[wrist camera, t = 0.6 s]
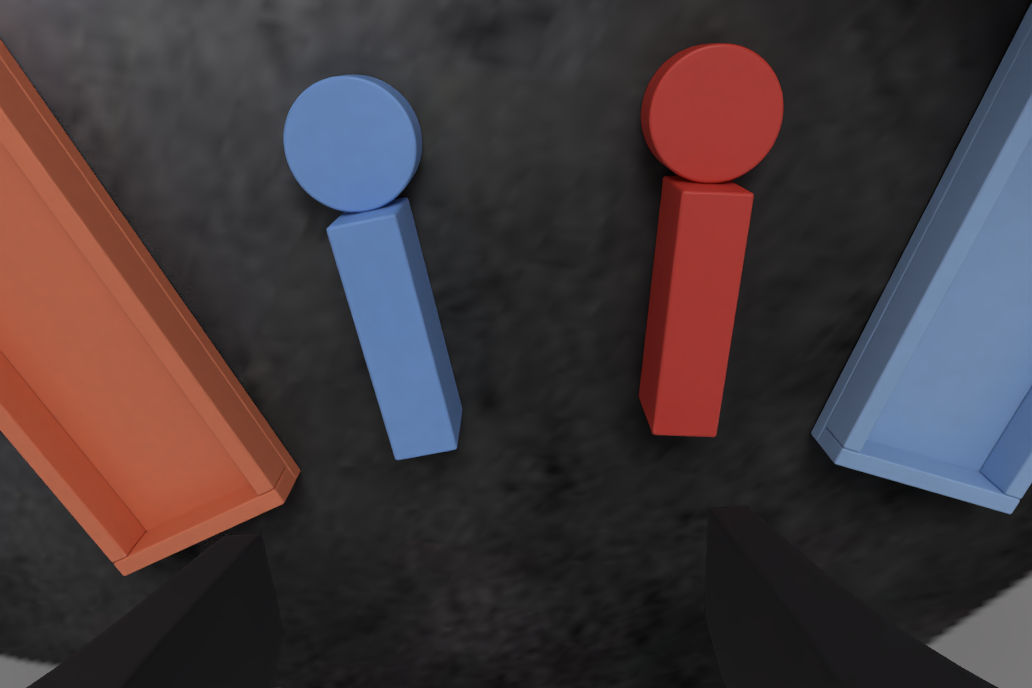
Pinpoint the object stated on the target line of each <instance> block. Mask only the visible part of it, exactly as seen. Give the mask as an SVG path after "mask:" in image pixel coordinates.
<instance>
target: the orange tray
mask: <svg viewBox="0 0 1032 688" xmlns="http://www.w3.org/2000/svg"><path fill="white" fill-rule="evenodd" d="M0 430H1V431H2V433H3V434H4V435H5V436H6V437H7V439H8V440H9V441H10V442H11V443H12V444H13V446H14V447H15V448H16V449H17V450H18V452H19V453H20V454H21V455H22V456H23V457H24V459H25V460H26V461H27V462H28V463H29V465H30V466H31V467H32V468H33V469H34V470H35V472H36V473H37V474H38V475H39V476H40V478H41V479H42V480H43V481H44V482H45V483H46V485H47V486H48V487H49V488H50V489H51V491H52V492H53V493H54V494H55V495H56V496H57V498H58V499H59V500H60V501H61V502H62V504H63V505H64V506H65V507H66V508H67V509H68V511H69V512H70V513H71V514H72V515H73V517H74V518H75V519H76V520H77V521H78V522H79V524H80V525H81V526H82V527H83V528H84V530H85V531H86V532H87V533H88V534H89V535H90V537H91V538H92V539H93V540H94V541H95V543H96V544H97V545H98V546H99V547H100V548H101V550H102V551H103V552H104V553H105V554H106V556H107V557H108V558H109V559H110V560H111V561H112V562H115V563H114V565H115V566H116V567H117V569H118V570H119V571H120V572H121V573H122V574H123V575H124V576H126V575H128V574H130V573H133V572H135V571H137V570H139V569H141V568H144V567H146V566H148V565H150V564H152V563H155V562H157V561H159V560H161V559H163V558H166V557H168V556H170V555H172V554H174V553H177V552H179V551H181V550H183V549H185V548H188V547H190V546H192V545H194V544H196V543H199V542H201V541H203V540H205V539H207V538H209V537H212V536H214V535H216V534H218V533H220V532H223V531H225V530H227V529H229V528H231V527H234V526H236V525H238V524H240V523H242V522H245V521H247V520H249V519H251V518H253V517H256V516H258V515H260V514H262V513H264V512H267V511H269V510H271V509H273V508H275V507H278V506H280V505H282V504H284V503H285V501H286V499H287V497H288V495H289V493H290V491H291V489H292V487H293V485H294V483H295V481H296V479H297V477H298V475H299V473H300V469H299V467H298V466H297V464H296V463H295V461H294V460H293V459H292V457H291V456H290V454H289V453H288V451H287V450H286V449H285V447H284V446H283V444H282V443H281V441H280V440H279V438H278V437H277V436H276V434H275V433H274V431H273V430H272V428H271V427H270V426H269V424H268V423H267V421H266V420H265V418H264V417H263V415H262V414H261V413H260V411H259V410H258V408H257V407H256V405H255V404H254V403H253V401H252V400H251V398H250V397H249V395H248V394H247V393H246V391H245V390H244V388H243V387H242V385H241V384H240V382H239V381H238V380H237V378H236V377H235V375H234V374H233V372H232V371H231V370H230V368H229V367H228V365H227V364H226V362H225V361H224V359H223V358H222V357H221V355H220V354H219V352H218V351H217V349H216V348H215V347H214V345H213V344H212V342H211V341H210V339H209V338H208V336H207V335H206V334H205V332H204V331H203V329H202V328H201V326H200V325H199V324H198V322H197V321H196V319H195V318H194V316H193V315H192V314H191V312H190V311H189V309H188V308H187V306H186V305H185V303H184V302H183V301H182V299H181V298H180V296H179V295H178V293H177V292H176V291H175V289H174V288H173V286H172V285H171V283H170V282H169V280H168V279H167V278H166V276H165V275H164V273H163V272H162V270H161V269H160V268H159V266H158V265H157V263H156V262H155V260H154V259H153V257H152V256H151V255H150V253H149V252H148V250H147V249H146V247H145V246H144V245H143V243H142V242H141V240H140V239H139V237H138V236H137V235H136V233H135V232H134V230H133V229H132V227H131V226H130V224H129V223H128V222H127V220H126V219H125V217H124V216H123V214H122V213H121V212H120V210H119V209H118V207H117V206H116V204H115V203H114V201H113V200H112V199H111V197H110V196H109V194H108V193H107V191H106V190H105V189H104V187H103V186H102V184H101V183H100V181H99V180H98V178H97V177H96V176H95V174H94V173H93V171H92V170H91V168H90V167H89V166H88V164H87V163H86V161H85V160H84V158H83V157H82V156H81V154H80V153H79V151H78V150H77V148H76V147H75V145H74V144H73V143H72V141H71V140H70V138H69V137H68V135H67V134H66V133H65V131H64V130H63V128H62V127H61V125H60V124H59V122H58V121H57V120H56V118H55V117H54V115H53V114H52V112H51V111H50V110H49V108H48V107H47V105H46V104H45V102H44V101H43V99H42V98H41V97H40V95H39V94H38V92H37V91H36V89H35V88H34V87H33V85H32V84H31V82H30V81H29V79H28V78H27V77H26V75H25V74H24V72H23V71H22V69H21V68H20V66H19V65H18V64H17V62H16V61H15V59H14V58H13V56H12V55H11V54H10V52H9V51H8V49H7V48H6V46H5V45H4V43H3V42H2V41H1V39H0Z"/></svg>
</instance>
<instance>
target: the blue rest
mask: <svg viewBox="0 0 1032 688" xmlns="http://www.w3.org/2000/svg"><path fill="white" fill-rule="evenodd" d="M811 434H812V436H813V437H814V438H815V440H816V441H817V442H818V443H819V445H820V446H821V447H822V448H823V450H824V451H825V452H826V453H827V455H828V456H829V457H830V459H831V460H832V461H833V462H834V463H835V464H837V465H840V466H844V467H847V468H851V469H854V470H858V471H861V472H865V473H868V474H872V475H875V476H879V477H882V478H886V479H889V480H893V481H896V482H899V483H903V484H906V485H910V486H913V487H917V488H920V489H924V490H927V491H931V492H934V493H938V494H941V495H945V496H948V497H952V498H955V499H959V500H962V501H966V502H969V503H973V504H976V505H980V506H983V507H987V508H990V509H994V510H997V511H1001V512H1004V513H1008V514H1011V513H1012V512H1013V511H1014V509H1015V508H1016V506H1017V504H1018V503H1019V501H1020V500H1019V499H1021V498H1022V497H1023V495H1024V494H1025V492H1026V491H1027V489H1028V488H1029V486H1030V484H1031V483H1032V3H1031V5H1030V7H1029V9H1028V11H1027V13H1026V15H1025V16H1024V18H1023V20H1022V22H1021V24H1020V26H1019V28H1018V30H1017V32H1016V34H1015V36H1014V38H1013V40H1012V42H1011V44H1010V46H1009V48H1008V50H1007V52H1006V53H1005V55H1004V57H1003V59H1002V61H1001V63H1000V65H999V67H998V69H997V71H996V73H995V75H994V77H993V79H992V81H991V83H990V85H989V87H988V89H987V91H986V92H985V94H984V96H983V98H982V100H981V102H980V104H979V106H978V108H977V110H976V112H975V114H974V116H973V118H972V120H971V122H970V124H969V126H968V128H967V130H966V131H965V133H964V135H963V137H962V139H961V141H960V143H959V145H958V147H957V149H956V151H955V153H954V155H953V157H952V159H951V161H950V163H949V165H948V167H947V169H946V170H945V172H944V174H943V176H942V178H941V180H940V182H939V184H938V186H937V188H936V190H935V192H934V194H933V196H932V198H931V200H930V202H929V204H928V206H927V208H926V209H925V211H924V213H923V215H922V217H921V219H920V221H919V223H918V225H917V227H916V229H915V231H914V233H913V235H912V237H911V239H910V241H909V243H908V245H907V247H906V248H905V250H904V252H903V254H902V256H901V258H900V260H899V262H898V264H897V266H896V268H895V270H894V272H893V274H892V276H891V278H890V280H889V282H888V284H887V286H886V287H885V289H884V291H883V293H882V295H881V297H880V299H879V301H878V303H877V305H876V307H875V309H874V311H873V313H872V315H871V317H870V319H869V321H868V323H867V324H866V326H865V328H864V330H863V332H862V334H861V336H860V338H859V340H858V342H857V344H856V346H855V348H854V350H853V352H852V354H851V356H850V358H849V360H848V362H847V363H846V365H845V367H844V369H843V371H842V373H841V375H840V377H839V379H838V381H837V383H836V385H835V387H834V389H833V391H832V393H831V395H830V397H829V399H828V401H827V402H826V404H825V406H824V408H823V410H822V412H821V414H820V416H819V418H818V420H817V422H816V424H815V426H814V428H813V430H812V432H811ZM1018 498H1019V499H1018Z"/></svg>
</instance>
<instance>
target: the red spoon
mask: <svg viewBox="0 0 1032 688" xmlns="http://www.w3.org/2000/svg"><path fill="white" fill-rule="evenodd" d="M783 110H784V108H783V95H782V90H781V87H780V83H779V81H778V79H777V76H776V74H775V73H774V71H773V70H772V68H771V67H770V65H769V64H768V63H767V62H766V61H765V60H764V59H763V58H762V57H761V56H759V55H758V54H757V53H755V52H753V51H752V50H750V49H747V48H745V47H743V46H739V45H735V44H728V43H715V44H702V45H696V46H693V47H690V48H687V49H685V50H682V51H680V52H678V53H677V54H675V55H674V56H672V57H671V58H670V59H668V60H667V61H666V62H665V63H664V64H663V65H662V66H661V67H660V68H659V69H658V70H657V72H656V73H655V74H654V76H653V77H652V79H651V81H650V82H649V84H648V87H647V89H646V91H645V94H644V98H643V101H642V108H641V125H642V131H643V135H644V138H645V141H646V143H647V145H648V147H649V149H650V150H651V152H652V153H653V155H654V156H655V157H656V158H657V159H658V160H659V161H660V162H661V163H662V164H663V165H665V166H666V167H667V168H668V169H670V170H671V171H673V172H674V173H675V174H677V175H679V176H664V178H663V185H662V194H661V202H660V211H659V220H658V229H657V238H656V247H655V256H654V265H653V274H652V282H651V291H650V300H649V309H648V318H647V327H646V336H645V345H644V354H643V362H642V371H641V380H640V389H639V399H640V401H641V404H642V407H643V409H644V412H645V415H646V417H647V420H648V423H649V426H650V428H651V431H652V434H654V435H670V436H698V437H715V436H716V434H717V427H718V421H719V415H720V408H721V402H722V396H723V389H724V383H725V377H726V370H727V364H728V357H729V351H730V345H731V338H732V332H733V326H734V319H735V313H736V307H737V300H738V294H739V287H740V281H741V275H742V268H743V262H744V256H745V249H746V243H747V237H748V230H749V224H750V218H751V211H752V205H753V198H754V195H753V193H751V192H749V191H748V190H746V189H744V188H742V187H741V186H739V185H737V184H735V183H734V182H732V181H730V180H733V179H735V178H737V177H740V176H742V175H743V174H745V173H747V172H748V171H750V170H751V169H752V168H754V167H755V166H756V165H757V164H758V163H759V162H760V161H762V159H763V158H764V157H765V156H766V155H767V153H768V152H769V151H770V149H771V148H772V146H773V144H774V142H775V140H776V138H777V136H778V133H779V131H780V128H781V123H782V119H783Z"/></svg>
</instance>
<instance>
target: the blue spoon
mask: <svg viewBox="0 0 1032 688" xmlns="http://www.w3.org/2000/svg"><path fill="white" fill-rule="evenodd" d="M283 143H284V151H285V155H286V159H287V162H288V165H289V168H290V170H291V172H292V174H293V175H294V177H295V179H296V180H297V182H298V183H299V184H300V186H301V187H302V188H303V189H304V190H305V191H306V192H307V193H308V194H309V195H310V196H311V197H313V198H314V199H316V200H317V201H318V202H320V203H322V204H324V205H326V206H328V207H330V208H333V209H336V210H340V211H344V213H342V214H341V215H340V216H339V217H338V218H337V219H336V220H335V221H334V222H333V223H332V224H331V225H330V226H329V227H328V228H327V234H328V238H329V241H330V244H331V248H332V251H333V254H334V258H335V261H336V264H337V268H338V271H339V274H340V277H341V281H342V284H343V287H344V291H345V294H346V297H347V301H348V304H349V307H350V311H351V314H352V317H353V321H354V324H355V327H356V331H357V334H358V337H359V341H360V344H361V347H362V351H363V354H364V357H365V361H366V364H367V367H368V371H369V374H370V377H371V381H372V384H373V387H374V390H375V394H376V397H377V400H378V404H379V407H380V410H381V414H382V417H383V420H384V424H385V427H386V430H387V434H388V437H389V440H390V444H391V447H392V450H393V454H394V457H395V459H396V460H402V459H407V458H413V457H418V456H424V455H429V454H434V453H440V452H445V451H451V450H455V449H457V445H458V437H459V430H460V423H461V416H462V406H461V402H460V398H459V394H458V391H457V387H456V383H455V379H454V375H453V371H452V367H451V363H450V359H449V355H448V352H447V348H446V344H445V340H444V336H443V332H442V328H441V324H440V320H439V316H438V313H437V309H436V305H435V301H434V297H433V293H432V289H431V285H430V281H429V278H428V274H427V270H426V266H425V262H424V258H423V254H422V250H421V246H420V242H419V239H418V235H417V231H416V227H415V223H414V219H413V215H412V211H411V207H410V203H409V200H408V198H407V197H402V198H398V199H395V198H396V197H397V196H398V195H399V194H400V193H401V192H402V191H403V190H404V189H405V187H406V186H407V185H408V184H409V182H410V181H411V179H412V178H413V176H414V175H415V173H416V171H417V168H418V166H419V163H420V159H421V154H422V134H421V129H420V125H419V122H418V119H417V117H416V115H415V112H414V111H413V109H412V107H411V106H410V104H409V103H408V102H407V100H406V99H405V98H404V97H403V96H402V95H401V94H400V93H399V92H398V91H397V90H396V89H394V88H393V87H392V86H390V85H389V84H387V83H385V82H384V81H381V80H379V79H377V78H374V77H370V76H366V75H342V76H335V77H330V78H326V79H323V80H321V81H319V82H316V83H314V84H313V85H311V86H310V87H308V88H307V89H306V90H305V91H304V92H303V93H301V94H300V96H299V97H298V98H297V99H296V100H295V102H294V104H293V105H292V107H291V109H290V111H289V113H288V115H287V119H286V122H285V127H284V139H283Z"/></svg>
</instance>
